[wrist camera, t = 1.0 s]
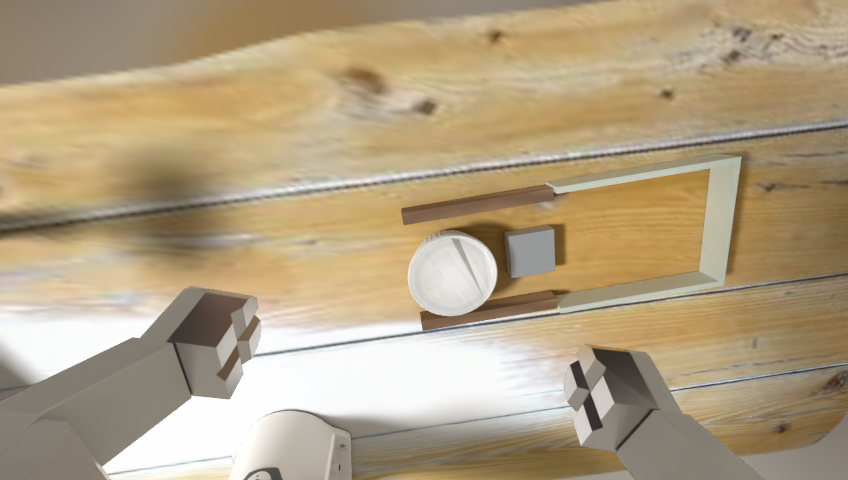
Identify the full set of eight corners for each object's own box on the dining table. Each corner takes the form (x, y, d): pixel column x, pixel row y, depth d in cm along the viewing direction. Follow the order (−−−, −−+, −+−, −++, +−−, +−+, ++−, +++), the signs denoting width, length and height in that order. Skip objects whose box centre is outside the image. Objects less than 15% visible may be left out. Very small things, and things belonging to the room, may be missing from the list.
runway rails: (550, 299, 53) (557, 307, 51) (421, 321, 53) (422, 330, 50) (546, 184, 47) (553, 188, 45) (401, 208, 47) (401, 213, 45)
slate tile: (548, 263, 52) (555, 270, 49) (506, 270, 52) (511, 278, 49) (546, 223, 50) (554, 229, 47) (503, 230, 49) (508, 236, 47)
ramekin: (503, 246, 50) (515, 261, 45) (460, 310, 53) (467, 330, 48) (433, 207, 48) (437, 218, 43) (392, 276, 50) (392, 294, 45)
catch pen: (703, 274, 53) (723, 285, 50) (550, 300, 53) (560, 313, 50) (717, 153, 48) (741, 156, 44) (545, 182, 47) (556, 187, 44)
